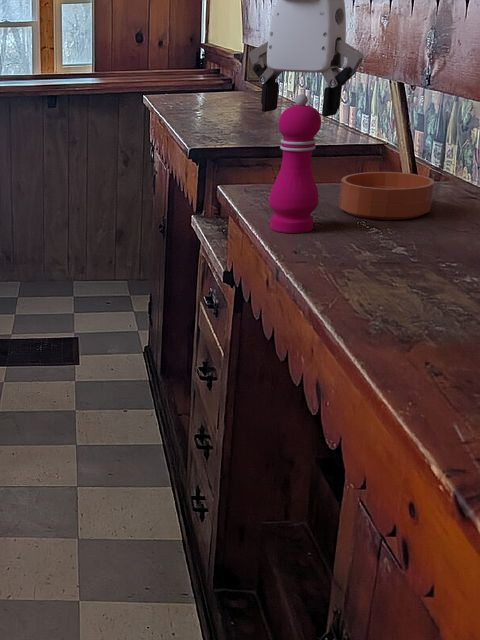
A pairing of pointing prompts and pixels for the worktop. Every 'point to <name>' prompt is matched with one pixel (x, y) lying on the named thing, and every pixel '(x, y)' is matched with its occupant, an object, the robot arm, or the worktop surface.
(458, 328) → the worktop surface
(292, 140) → the pepper mill
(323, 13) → the robot arm
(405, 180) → the bowl
